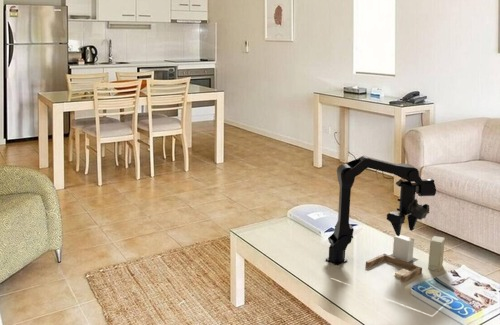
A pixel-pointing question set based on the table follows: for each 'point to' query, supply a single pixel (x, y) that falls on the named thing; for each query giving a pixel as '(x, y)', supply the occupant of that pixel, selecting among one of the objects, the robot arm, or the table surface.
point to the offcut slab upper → (401, 273)
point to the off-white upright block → (403, 248)
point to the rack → (414, 269)
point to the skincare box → (436, 253)
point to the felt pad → (409, 261)
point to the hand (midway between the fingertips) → (404, 233)
